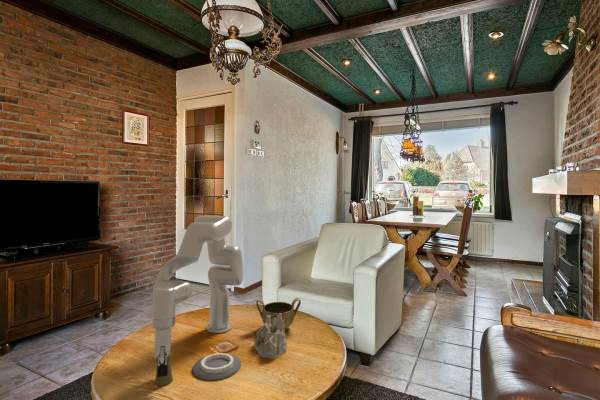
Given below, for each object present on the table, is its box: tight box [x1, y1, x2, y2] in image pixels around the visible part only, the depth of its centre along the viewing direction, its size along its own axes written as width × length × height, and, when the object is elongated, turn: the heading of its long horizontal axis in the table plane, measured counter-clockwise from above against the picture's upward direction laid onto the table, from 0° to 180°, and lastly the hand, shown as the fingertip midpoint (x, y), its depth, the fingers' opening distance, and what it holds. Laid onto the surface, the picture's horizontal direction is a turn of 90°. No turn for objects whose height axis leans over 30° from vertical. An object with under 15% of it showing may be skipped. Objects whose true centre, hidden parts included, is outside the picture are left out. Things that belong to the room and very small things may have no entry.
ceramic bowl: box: [255, 297, 302, 330], centre depth 165 cm, size 22×17×15 cm
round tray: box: [192, 352, 242, 381], centre depth 128 cm, size 18×18×2 cm
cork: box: [154, 350, 174, 387], centre depth 118 cm, size 6×6×11 cm
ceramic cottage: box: [253, 313, 288, 360], centre depth 143 cm, size 16×16×15 cm
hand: (163, 368), depth 118 cm, fingers open, 9 cm apart
